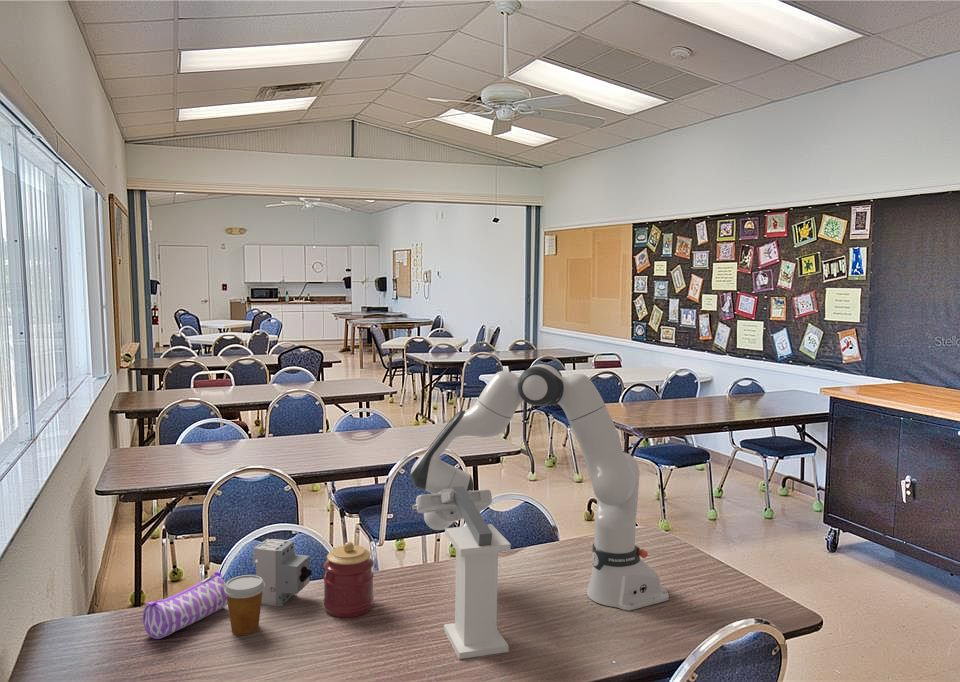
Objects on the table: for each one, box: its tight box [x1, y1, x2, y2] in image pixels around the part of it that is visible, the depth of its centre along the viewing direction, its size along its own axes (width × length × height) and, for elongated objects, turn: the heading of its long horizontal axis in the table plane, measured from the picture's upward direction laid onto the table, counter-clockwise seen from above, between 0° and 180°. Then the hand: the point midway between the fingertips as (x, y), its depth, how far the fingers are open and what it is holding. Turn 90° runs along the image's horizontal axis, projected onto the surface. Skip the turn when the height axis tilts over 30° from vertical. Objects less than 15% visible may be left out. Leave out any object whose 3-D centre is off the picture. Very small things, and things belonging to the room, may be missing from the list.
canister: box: [323, 541, 375, 618], centre depth 187 cm, size 13×13×18 cm
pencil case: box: [142, 571, 228, 640], centre depth 178 cm, size 22×9×10 cm, turn 155°
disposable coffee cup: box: [224, 574, 265, 636], centre depth 175 cm, size 10×10×12 cm
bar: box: [452, 486, 492, 546], centre depth 174 cm, size 3×24×3 cm, turn 18°
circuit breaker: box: [252, 538, 313, 607], centre depth 191 cm, size 8×14×15 cm, turn 78°
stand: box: [443, 523, 512, 660], centre depth 170 cm, size 12×14×26 cm
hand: (460, 494), depth 182 cm, fingers closed on bar, 3 cm apart
